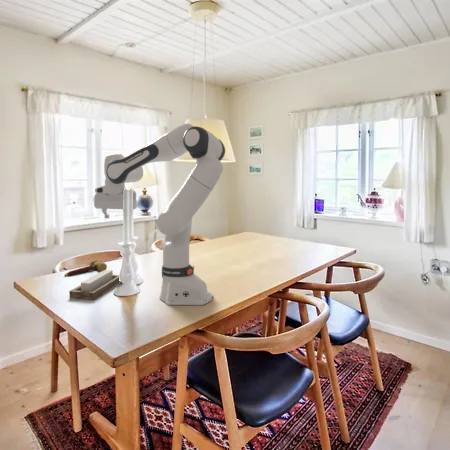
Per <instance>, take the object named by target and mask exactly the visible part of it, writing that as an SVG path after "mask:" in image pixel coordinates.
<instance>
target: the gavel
mask: <svg viewBox="0 0 450 450" xmlns="http://www.w3.org/2000/svg"><path fill="white" fill-rule="evenodd" d="M107 267H108V265H107V264H106V263H104V262H99V261H98V260H95V259H94V260H91V261H90V263H89V265H88V266H84V267H83V266H82V267H80V268H78V269H74V270H73V269H72V270H70V271H68V272H66V273H65V274H64V275H63V276H64V277H69V276H77V275H79V274H83V273H86V272H90V271H92V270H98V271H99V272H102V271H104V270H108V269H107Z"/></svg>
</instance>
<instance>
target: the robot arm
mask: <svg viewBox="0 0 450 450" xmlns="http://www.w3.org/2000/svg"><path fill="white" fill-rule="evenodd" d="M185 153H188V154H189V155H190V156H191V159H194V160H196V164H195V166H194V168H193V169H192V170H191V172H190V174H189V175H188V176H187V178H186V179H185V181H184V183H183V184H182V186H180V188H179V190H178V191H177V193H176V194H175V195H173V197H172V198H171V200H170V201H169V202H168V203H167V204H166V206H165V207H164V208H163V210H162V212H161V213H160V214H159V216H158V217H157V220H156V226H157V228H158V231H159V232H160V233H161V234H163V235H164V241H163V245H162V265H161V279H162V283H161V290H160V295H159V299H160V300H161V301H163V302H165V304H166V305H169V306H171V305H172V306H174V305H175V306H184V305H185V306H204V304H205V305H207V304H209V303H210V302H211V301H212V299H213V293H212V292H211V291H208V287H207V283H206V282H205V281H204V280H203V279H202V278H201V277H199V276H198V275H197V274H195V272H194V271H195V265H193V266H192V265H191V264H190V243H191V235H192V234H191V233H192V225H193V217H194V215H196V213H197V212H198V210H199V209H200V208H201V207H202V206H203V204H204V203H205V202H206V200H207V198H208V197H209V196H210V194H211V193H212V192H213V190H214V188H215V187H216V186H217V183H218V181H219V180H220V179H221V175H222V173H223V171H224V166H223V163H222V162H221V161H222V160H223V159H224V157H225V154H226V148H225V145H224V143H223V142H222V140H220V139H219V138H218V137H217V136H215V135H214V134H213V133H212V132H211V131H208V130H206V129H205V128H204V127H201V126H194V125H192V124H191V123H184V124H181V125H179V126H177V127H176V126H175V128H172V129H171V130H170V131H168V132H166V133H165V134H163V135H162V136H160V137H158V138H156V140H154V141H152V142H150V143H149V144H147V145H146V146H144V147H142V148H139V149H138V150H137V151H134V152H132V153H131V154H129V155H127V156H124V155H123V154H122V153H119V152H118V153H110V154H107V155H106V156H105V157H104V163H103V164H104V168H103V171H104V176H105V178H104V179H105V180H104V185H102V186H98V187H96V188H94V193H95V194H94V197H93V203H94V204H93V205H94V208H95V209H99V210H101V212H102V214H103V216H104V219H110V214H109V213H108V212H107V211H108V210H124V209H123V190H124V188H125V189H126V187H125V185H126V184H125V183H137V182H139V181H141V179H142V178H143V176H144V168H143V166H145V165H148V164H151V163H157V162H159V163H160V162H170V161H172V160H175V159H178V158H180V157H181V156H182V155H184V154H185ZM137 201H138V200H137V192H136V191H135V190H133V210H136V209H137V208H138V202H137ZM210 300H211V301H210ZM209 301H210V302H209ZM208 302H209V303H208ZM206 303H207V304H206Z"/></svg>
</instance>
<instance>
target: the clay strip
mask: <svg viewBox="0 0 450 450" xmlns="http://www.w3.org/2000/svg"><path fill="white" fill-rule="evenodd" d="M113 273H114V272H113V270H109V269H106V270H104V271H99V273H97V274H95V275H93V276H91V277H89V278H87V279H85V280H84V281H82V282H81V283H80V285H81V291H89V292H92V291H94V290H96V289H97V288H99V287H101V286H102V285H104V284H106V283H107V282H109V281H111V280H112V279H113V275H114V274H113Z"/></svg>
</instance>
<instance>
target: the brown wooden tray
mask: <svg viewBox="0 0 450 450" xmlns="http://www.w3.org/2000/svg"><path fill="white" fill-rule="evenodd" d="M119 275H120V274H113V279H112V280H111V281H109V282H107V283H106V284H104V285H102V286H101V287H99V288H97V289H96V290H94V291H92V292H89V291H81V284H80V285H78V286H76V287H75V288H72V289H71V290H69V292H68V293H69V299H78V300H89V301H94V300H96V299H98V298H99V297H101V296H102V295H104V294H105V293H107V292H108V291H110V290H111V289H113V288H115V287H116V286H117V285H119V284H120V283H119V282H120V281H119Z"/></svg>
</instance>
